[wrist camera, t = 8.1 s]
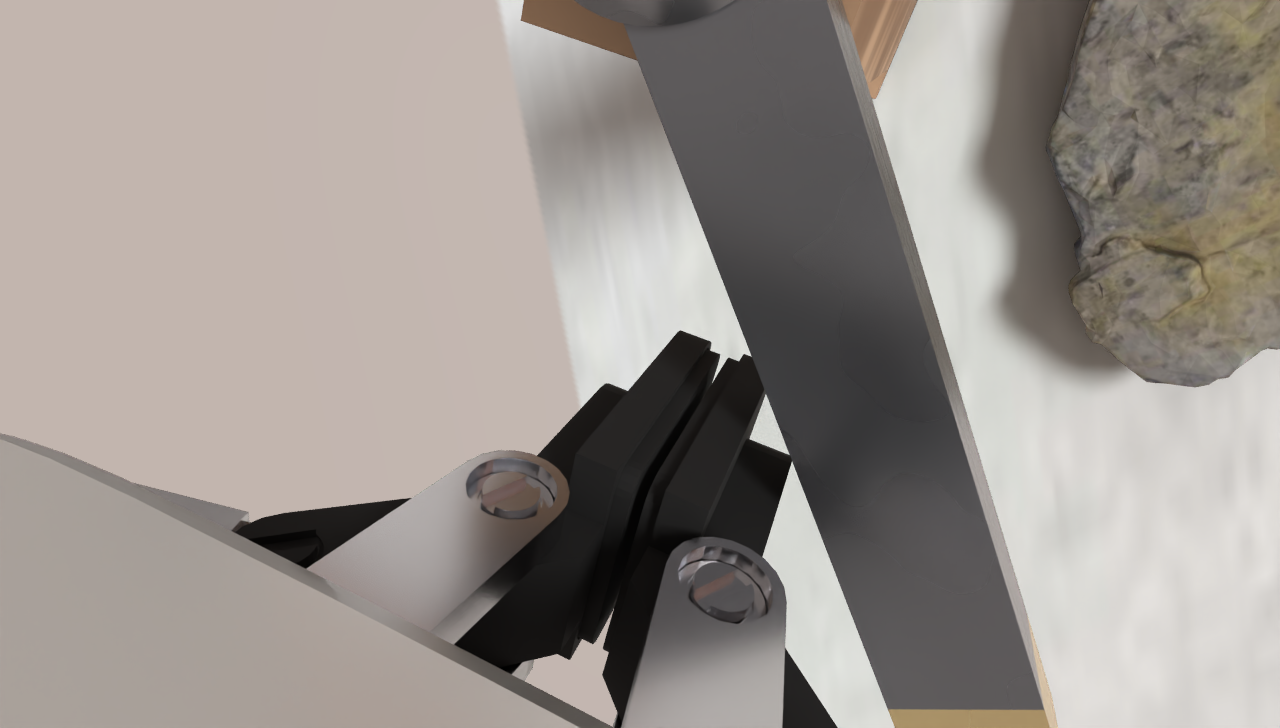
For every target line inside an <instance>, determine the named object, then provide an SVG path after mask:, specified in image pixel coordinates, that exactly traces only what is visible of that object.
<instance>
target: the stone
mask: <svg viewBox="0 0 1280 728" xmlns="http://www.w3.org/2000/svg"><path fill="white" fill-rule="evenodd" d="M1046 151H1047V153H1048V156H1049V158H1050V160H1051V162H1052V165H1053V167H1054V170H1055V174H1056V176H1057V178H1058V181H1059V183H1060V185H1061V187H1062V189H1063V191H1064V193H1065V195H1066V198H1067V200H1068V203H1069V205H1070V208H1071V210H1072V212H1073V215H1074V217H1075V220H1076V222H1077V224H1078V227H1079V229H1080V233H1081V237H1080V238H1079V239H1078V240H1077V242H1076V243H1075V244H1074V251H1075V254H1076V257H1077V261H1078V264H1079V267H1080V271H1079V272H1078V273H1077V274H1076V275H1075V276H1074V277H1073V278H1072V280H1071V281H1070V283H1069V285H1068V289H1069V294H1070V297H1071V300H1072V303H1073V305H1074V307H1075V308H1076V310H1077V312H1078V314H1079V315H1080V317H1081V319H1082V320H1083V322H1084V323H1085V324H1086V334H1087V336H1088V337H1089V338H1090V340H1091V341H1092V342H1094V343H1098V344H1101V345H1102V346H1104V347H1105V348H1106V349H1107V350H1108V351H1109V352H1110V353H1111V354H1112V355H1113V356H1114V357H1116V358H1117V359H1118V360H1119V361H1120V362H1121V363H1123V364H1124V365H1125V366H1127V367H1128V368H1129V369H1130V370H1132V371H1133V372H1134V373H1136V374H1137V375H1138V376H1139V377H1141V378H1142V379H1143V380H1145V381H1146V382H1152V383H1167V384H1174V385H1181V386H1189V387H1199V386H1204V385H1209V384H1211V383H1212V382H1214V381H1215V380H1217V379H1221V378H1228V377H1229V376H1230V375H1231V374H1232V373H1233V372H1234V371H1235V370H1236V369H1238V368H1239V367H1240V366H1242V365H1243V364H1244V363H1246V362H1247V361H1248V360H1250V359H1251V358H1252V357H1254V356H1255V355H1256V354H1258V353H1259V352H1260V351H1262V350H1264V349H1267V348H1269V349H1276V350H1277V349H1280V0H1090V1H1089V3H1088V6H1087V9H1086V12H1085V15H1084V18H1083V21H1082V24H1081V27H1080V30H1079V34H1078V38H1077V42H1076V46H1075V50H1074V53H1073V57H1072V60H1071V63H1070V69H1069V76H1068V80H1067V83H1066V87H1065V90H1064V93H1063V98H1062V102H1061V107H1060V111H1059V114H1058V117H1057V119H1056V120H1055V122H1054V124H1053V125H1052V128H1051V132H1050V135H1049V138H1048V141H1047V145H1046Z"/></svg>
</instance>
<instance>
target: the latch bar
mask: <svg viewBox="0 0 1280 728" xmlns="http://www.w3.org/2000/svg"><path fill="white" fill-rule="evenodd" d="M574 1H575V2H577V3H578V4H579V5H581V6H582V7H584V8H586V9H588V10H590V11H591V12H593V13H595V14H597V15H599V16H601V17H604V18H607V19H610V20H613V21H616V22H619V23H623V24H624V26H625V29H626V31H627V34H628V37H629V39H630V42H631V44H632V47H633V50H634V52H635V55H636V57H637V60H638V63H639V65H640V68H641V70H642V73H643V76H644V78H645V81H646V83H647V86H648V89H649V91H650V94H651V96H652V99H653V101H654V104H655V107H656V109H657V112H658V114H659V117H660V120H661V122H662V125H663V127H664V130H665V133H666V135H667V138H668V140H669V143H670V146H671V148H672V151H673V153H674V156H675V158H676V161H677V164H678V166H679V169H680V171H681V174H682V177H683V179H684V182H685V184H686V187H687V190H688V192H689V195H690V197H691V200H692V203H693V205H694V208H695V210H696V213H697V216H698V218H699V221H700V223H701V226H702V228H703V231H704V234H705V236H706V239H707V241H708V244H709V247H710V249H711V252H712V254H713V257H714V260H715V262H716V265H717V267H718V270H719V273H720V275H721V278H722V280H723V283H724V286H725V288H726V291H727V293H728V296H729V298H730V301H731V304H732V306H733V309H734V311H735V314H736V317H737V319H738V322H739V324H740V327H741V330H742V332H743V335H744V337H745V340H746V343H747V345H748V348H749V350H750V353H751V356H752V358H753V361H754V363H755V366H756V368H757V371H758V374H759V376H760V379H761V381H762V384H763V387H764V389H765V392H766V394H767V397H768V400H769V402H770V405H771V407H772V410H773V413H774V415H775V418H776V420H777V423H778V425H779V428H780V431H781V433H782V436H783V438H784V441H785V444H786V446H787V449H788V451H789V454H790V457H791V459H792V462H793V464H794V467H795V470H796V472H797V475H798V477H799V480H800V483H801V485H802V488H803V490H804V493H805V495H806V498H807V501H808V503H809V506H810V508H811V511H812V514H813V516H814V519H815V521H816V524H817V527H818V529H819V532H820V534H821V537H822V540H823V542H824V545H825V547H826V550H827V553H828V555H829V558H830V560H831V563H832V565H833V568H834V571H835V573H836V576H837V578H838V581H839V584H840V586H841V589H842V591H843V594H844V597H845V599H846V602H847V604H848V607H849V610H850V612H851V615H852V617H853V620H854V623H855V625H856V628H857V630H858V633H859V635H860V638H861V641H862V643H863V646H864V648H865V651H866V654H867V656H868V659H869V661H870V664H871V667H872V669H873V672H874V674H875V677H876V680H877V682H878V685H879V687H880V690H881V692H882V695H883V698H884V700H885V703H886V705H887V708H888V711H889V713H890V716H891V718H892V721H893V724H894V726H895V728H1058V725H1057V720H1056V715H1055V710H1054V705H1053V700H1052V695H1051V692H1050V689H1049V685H1048V682H1047V679H1046V676H1045V672H1044V669H1043V666H1042V662H1041V659H1040V656H1039V652H1038V649H1037V646H1036V642H1035V639H1034V636H1033V632H1032V629H1031V626H1030V622H1029V619H1028V616H1027V612H1026V609H1025V606H1024V602H1023V599H1022V596H1021V593H1020V589H1019V586H1018V583H1017V579H1016V576H1015V573H1014V569H1013V566H1012V563H1011V559H1010V556H1009V553H1008V549H1007V546H1006V543H1005V539H1004V536H1003V533H1002V529H1001V526H1000V523H999V519H998V516H997V513H996V510H995V506H994V503H993V500H992V496H991V493H990V490H989V486H988V483H987V480H986V476H985V473H984V470H983V466H982V463H981V460H980V456H979V453H978V450H977V446H976V443H975V440H974V436H973V433H972V430H971V427H970V423H969V420H968V417H967V413H966V410H965V407H964V403H963V400H962V397H961V393H960V390H959V387H958V383H957V380H956V377H955V373H954V370H953V367H952V363H951V360H950V357H949V353H948V350H947V347H946V344H945V340H944V337H943V334H942V330H941V327H940V324H939V320H938V317H937V314H936V310H935V307H934V304H933V300H932V297H931V294H930V290H929V287H928V284H927V280H926V277H925V274H924V270H923V267H922V264H921V261H920V257H919V254H918V251H917V247H916V244H915V241H914V237H913V234H912V231H911V227H910V224H909V221H908V217H907V214H906V211H905V207H904V204H903V201H902V197H901V194H900V191H899V187H898V184H897V181H896V178H895V174H894V171H893V168H892V164H891V161H890V158H889V154H888V151H887V148H886V144H885V141H884V138H883V134H882V131H881V128H880V124H879V121H878V118H877V114H876V111H875V108H874V104H873V101H872V98H871V95H870V91H869V88H868V85H867V81H866V78H865V75H864V71H863V68H862V65H861V61H860V58H859V55H858V51H857V48H856V45H855V41H854V38H853V35H852V31H851V28H850V25H849V21H848V18H847V15H846V12H845V8H844V5H843V2H842V0H574Z"/></svg>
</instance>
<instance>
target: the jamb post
mask: <svg viewBox="0 0 1280 728" xmlns="http://www.w3.org/2000/svg"><path fill="white" fill-rule="evenodd" d="M842 2H843V5H844V8H845V12H846V15H847V18H848V21H849V25H850V28H851V31H852V35H853V38H854V41H855V45H856V48H857V51H858V55H859V58H860V61H861V65H862V68H863V71H864V75H865V78H866V81H867V85H868V88H869V91H870V95H871V98H874V99H875V98H876V97H877V95H878V93H879V90H880V88H881V86H882V83H883V81H884V79H885V76H886V74H887V71H888V69H889V67H890V64H891V62H892V60H893V57H894V55H895V52H896V50H897V48H898V45H899V43H900V41H901V38H902V36H903V33H904V31H905V29H906V26H907V24H908V22H909V19H910V17H911V14H912V12H913V10H914V7H915V5H916V3H917V0H842ZM521 21H524V22H527V23H530V24H533V25H535V26H538V27H541V28H544V29H547V30H550V31H553V32H556V33H559V34H562V35H565V36H567V37H570V38H573V39H576V40H579V41H582V42H585V43H588V44H591V45H594V46H597V47H599V48H602V49H605V50H608V51H611V52H614V53H617V54H620V55H623V56H626V57H629V58H632V59H634V60H637V57H636V55H635V52H634V50H633V47H632V44H631V42H630V39H629V37H628V34H627V31H626V29H625V26H624V24H623V23H619V22H616V21H613V20H610V19H607V18H604V17H601V16H599V15H597V14H595V13H593V12H591V11H590V10H588V9H586V8H584V7H582V6H581V5H579V4H578V3H577V2H575V1H574V0H524V4H523V10H522V17H521ZM637 61H638V60H637Z"/></svg>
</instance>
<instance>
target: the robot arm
mask: <svg viewBox="0 0 1280 728" xmlns="http://www.w3.org/2000/svg"><path fill="white" fill-rule="evenodd" d="M710 348H711V342H710V341H707V340H705V339H702V338H699V337H697V336H694V335H691V334H689V333H686V332H683V331H679V332H678V333H677V334H676V335H675V336H674V337H673V339H672V340H671V341H670V342H669V343H668V344H667V346H666V347H665V348H664V349H663V350H662V352H661V353H660V354H659V355H658V356H657V357H656V359H655V360H654V361H653V362H652V363H651V365H650V366H649V367H648V368H647V369H646V370H645V372H644V373H643V374H642V375H641V376H640V378H639V379H638V380H637V381H636V382H635V384H634V385H633V386H632V387H631V388H630V389H629V391H626V390H624V389H621V388H619V387H616V386H614V385H611V384H604V385H603V386H602V387H601V388H600V389H599V390H598V391H597V392H596V393H595V394H594V395H593V396H592V397H591V398H590V400H589V401H588V402H587V403H586V404H585V405H584V406H583V407H582V408H581V409H580V410H579V411H578V412H577V413H576V415H575V416H574V417H573V418H572V419H571V420H570V421H569V422H568V423H567V424H566V425H565V427H563V428H562V430H561V431H560V432H559V433H558V434H557V435H556V436H555V437H554V438H553V439H552V440H551V441H550V442H549V444H548V445H547V446H546V447H545V448H544V449H543V450H542V451H541V452H540V453H539V454H538V455H537V456H535V455H533V454H530V453H525V452H520V451H494V452H489V453H485V454H481V455H479V456H477V457H475V458H473V459H471V460H468V461H467V462H465V463H464V464H462V465H461V466H459V467H458V468H456V469H455V470H453V471H452V472H451V473H449V474H447V475H446V476H444V477H443V478H441V479H440V480H438V481H437V482H436V483H434V484H432V485H431V486H429V487H428V488H426V489H425V490H423V491H422V492H420V493H419V494H417V495H416V496H414V497H413V498H408V499H399V500H390V501H382V502H374V503H365V504H357V505H348V506H340V507H331V508H323V509H315V510H306V511H298V512H290V513H283V514H278V515H273V516H269V517H264V518H261V519H259V520H256V521H254V522H252V523H251V522H249V513H248V512H246V511H242V510H238V509H234V508H230V507H226V506H222V505H218V504H214V503H210V502H206V501H203V500H198V499H195V498H190V497H187V496H183V495H179V494H175V493H171V492H167V491H163V490H159V489H155V488H151V487H147V486H143V485H139V484H135V483H132V482H130V481H128V480H125V479H124V478H121V477H119V476H117V475H114V474H112V473H110V472H107V471H105V470H103V469H100V468H98V467H96V466H93V465H91V464H88V463H86V462H84V461H82V460H79V459H77V458H74V457H72V456H70V455H67V454H65V453H62V452H59V451H56V450H53V449H50V448H47V447H44V446H41V445H39V444H36V443H32V442H30V441H27V440H24V439H20V438H17V437H14V436H9V435H5V434H1V433H0V728H837V726H836V725H835V723H834V722H833V720H832V719H831V717H830V715H829V714H828V712H827V711H826V709H825V708H824V706H823V705H822V703H821V702H820V700H819V699H818V697H817V696H816V694H815V693H814V691H813V690H812V688H811V687H810V685H809V683H808V682H807V680H806V679H805V677H804V676H803V674H802V673H801V671H800V670H799V668H798V667H797V665H796V664H795V662H794V661H793V659H792V658H791V656H790V655H789V653H788V651H787V650H786V648H785V633H786V604H787V602H786V596H785V590H784V586H783V584H782V582H781V580H780V578H779V576H778V574H777V572H776V571H775V570H774V569H773V568H772V567H771V566H770V565H769V563H768V562H767V561H766V560H765V559H764V558H762V556H763V553H764V550H765V546H766V543H767V540H768V537H769V533H770V530H771V527H772V524H773V521H774V517H775V514H776V511H777V508H778V504H779V501H780V498H781V495H782V492H783V488H784V485H785V482H786V479H787V475H788V472H789V469H790V466H791V462H792V459H791V457H790V455H788V454H785V453H783V452H780V451H777V450H775V449H772V448H770V447H767V446H765V445H762V444H760V443H757V442H755V441H752V440H750V439H749V438H750V435H751V433H752V430H753V427H754V424H755V422H756V419H757V416H758V413H759V411H760V408H761V405H762V403H763V400H764V397H765V394H766V392H765V389H764V387H763V384H762V381H761V379H760V376H759V374H758V371H757V368H756V366H755V363H754V361H753V358H752V357H751V356H748V355H745V354H744V355H743V356H742V358H741V359H740V361H736V360H733V359H731V358H728V359H727V360H726V362H725V364H724V365H723V367H722V368H721V370H720V372H719V373H718V375H717V377H716V378H715V380H714V381H713V378H714V375H715V372H716V369H717V366H718V362H719V358H720V354H718V353H715V352H712V351H710ZM712 381H713V383H712ZM613 609H614V611H613ZM612 611H613V614H612V618H611V621H610V625H609V628H608V632H607V635H606V639H605V643H604V646H603V649H604V650H606V651H608V652H609V654H608V657H607V661H606V664H605V668H604V671H603V674H602V675H603V678H604V680H605V682H606V685H607V688H608V690H609V692H610V695H611V697H612V700H613V702H614V705H615V707H616V710H617V715H616V718H615V722H614V724H613V727H612V726H610V725H608V724H606V723H604V722H602V721H600V720H598V719H596V718H594V717H592V716H590V715H588V714H586V713H585V712H583V711H581V710H579V709H577V708H575V707H573V706H571V705H569V704H567V703H565V702H563V701H562V700H560V699H558V698H556V697H554V696H552V695H550V694H548V693H546V692H544V691H542V690H540V689H538V688H536V687H534V686H532V685H531V684H529V683H527V682H525V679H526V677H527V676H528V674H529V673H530V671H531V669H532V668H533V663H534V659H538V658H542V657H547V656H551V655H554V654H559V655H560V656H563V657H564V658H567V659H568V660H570V659H571V657H572V655H573V654H574V652H575V650H576V648H577V647H578V645H579V643H580V641H581V640H582V639H583V640H586V641H588V642H590V643H592V644H594V642H595V641H596V640H597V638H598V637H599V635H600V633H601V631H602V629H603V627H604V626H605V624H606V622H607V620H608V618H609V616H610V615H611V613H612Z"/></svg>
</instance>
